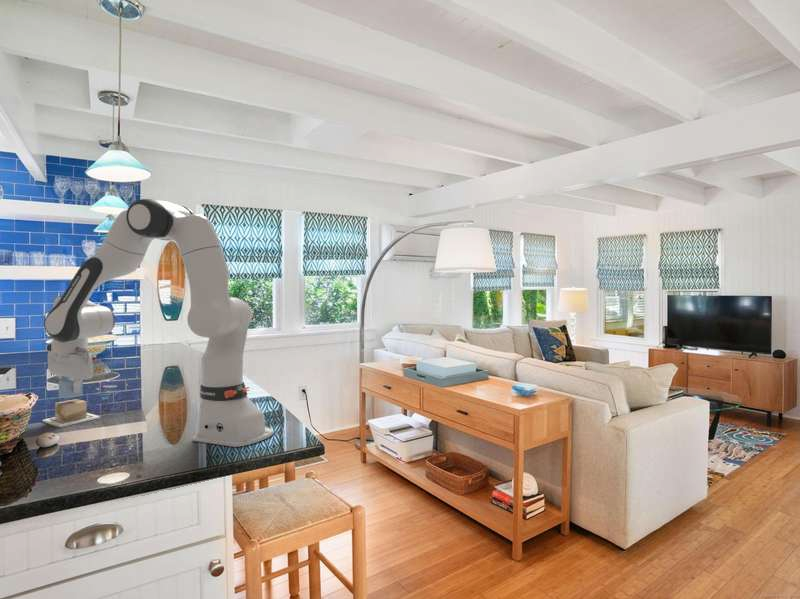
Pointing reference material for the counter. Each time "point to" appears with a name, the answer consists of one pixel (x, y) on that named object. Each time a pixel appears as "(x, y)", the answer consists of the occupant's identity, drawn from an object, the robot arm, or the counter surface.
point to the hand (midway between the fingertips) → (71, 390)
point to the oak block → (70, 410)
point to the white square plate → (62, 424)
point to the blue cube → (68, 389)
